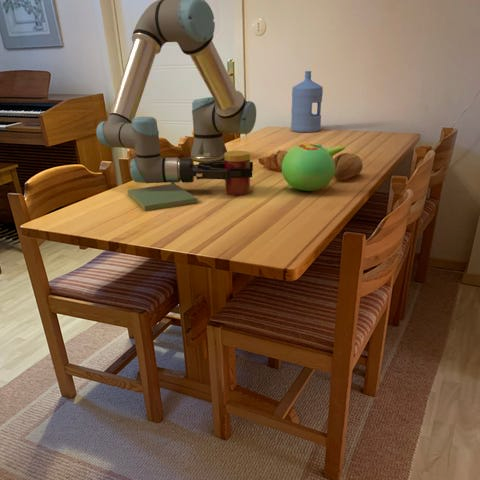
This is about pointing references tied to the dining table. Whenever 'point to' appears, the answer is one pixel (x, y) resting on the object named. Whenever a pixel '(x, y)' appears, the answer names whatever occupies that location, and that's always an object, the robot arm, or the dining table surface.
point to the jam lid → (236, 156)
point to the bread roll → (347, 166)
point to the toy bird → (309, 166)
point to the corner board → (161, 196)
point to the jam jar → (237, 179)
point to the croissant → (273, 161)
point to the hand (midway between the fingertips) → (252, 169)
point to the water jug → (306, 105)
